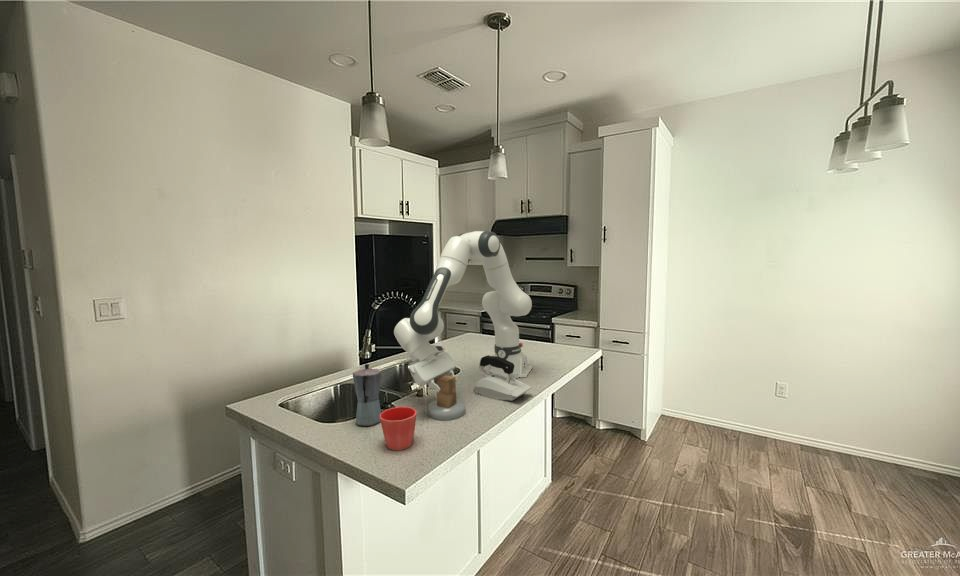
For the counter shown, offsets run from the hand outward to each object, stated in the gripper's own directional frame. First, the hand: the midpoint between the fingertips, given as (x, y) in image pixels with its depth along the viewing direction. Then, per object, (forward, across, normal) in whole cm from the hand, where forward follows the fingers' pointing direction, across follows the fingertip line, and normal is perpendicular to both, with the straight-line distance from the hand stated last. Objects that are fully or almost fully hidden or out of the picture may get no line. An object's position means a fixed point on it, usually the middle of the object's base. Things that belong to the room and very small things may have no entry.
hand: (447, 386), depth 136 cm
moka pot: (-8, -18, +22) cm, 29 cm away
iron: (+13, +24, +2) cm, 27 cm away
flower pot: (+7, -25, +8) cm, 27 cm away
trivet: (+6, 0, +7) cm, 10 cm away
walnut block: (+4, 0, +5) cm, 7 cm away
